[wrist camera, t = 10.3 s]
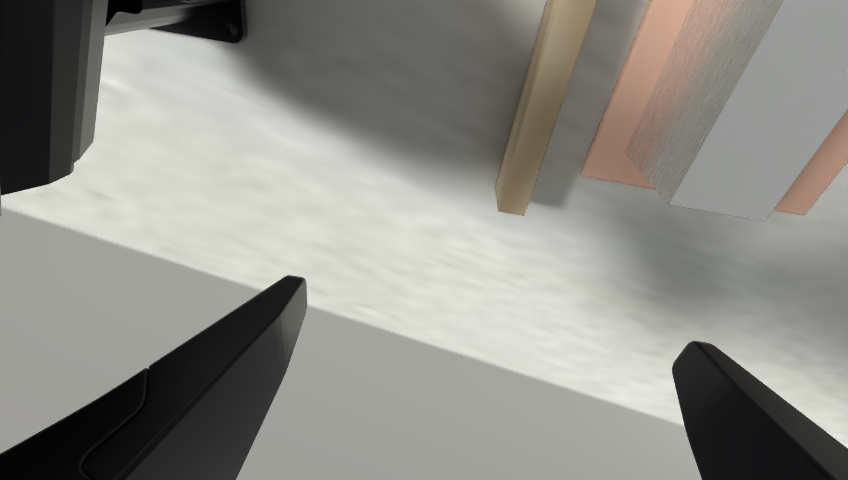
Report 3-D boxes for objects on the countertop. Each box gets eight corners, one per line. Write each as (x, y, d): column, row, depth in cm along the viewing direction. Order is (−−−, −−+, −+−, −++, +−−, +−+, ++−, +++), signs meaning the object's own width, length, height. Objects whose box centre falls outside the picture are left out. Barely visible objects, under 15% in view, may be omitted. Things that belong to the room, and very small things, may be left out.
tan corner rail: (495, 186, 20) (498, 211, 18) (659, -407, 11) (707, -499, 9) (775, 236, 21) (809, 266, 19) (1196, -305, 11) (1372, -371, 9)
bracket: (755, -138, 13) (890, -189, 9) (997, -94, 13) (1243, -124, 9) (624, 152, 19) (668, 204, 14) (793, 182, 19) (886, 242, 15)
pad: (580, 173, 20) (581, 176, 19) (734, -210, 12) (740, -215, 12) (799, 212, 20) (804, 215, 20) (1082, -146, 12) (1094, -149, 12)
